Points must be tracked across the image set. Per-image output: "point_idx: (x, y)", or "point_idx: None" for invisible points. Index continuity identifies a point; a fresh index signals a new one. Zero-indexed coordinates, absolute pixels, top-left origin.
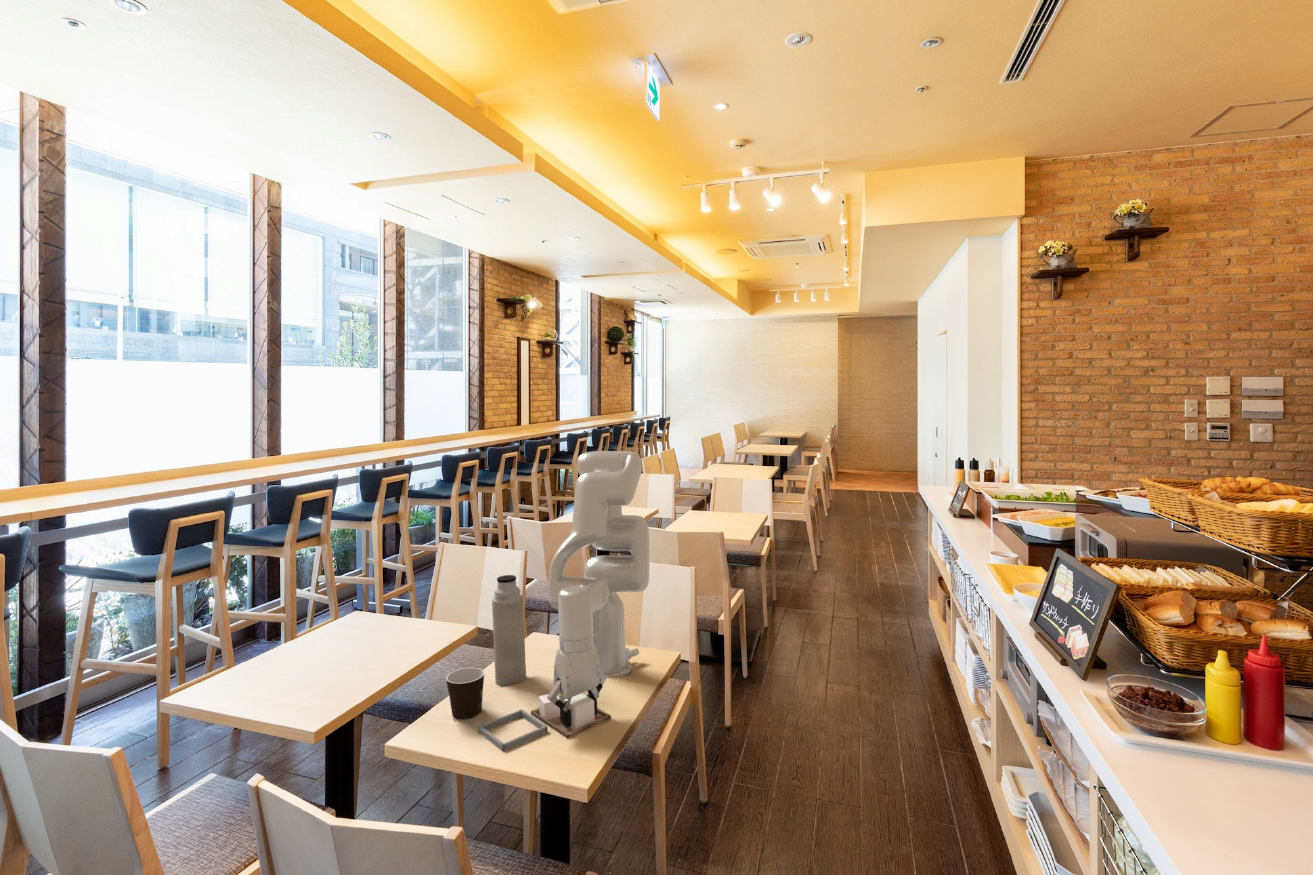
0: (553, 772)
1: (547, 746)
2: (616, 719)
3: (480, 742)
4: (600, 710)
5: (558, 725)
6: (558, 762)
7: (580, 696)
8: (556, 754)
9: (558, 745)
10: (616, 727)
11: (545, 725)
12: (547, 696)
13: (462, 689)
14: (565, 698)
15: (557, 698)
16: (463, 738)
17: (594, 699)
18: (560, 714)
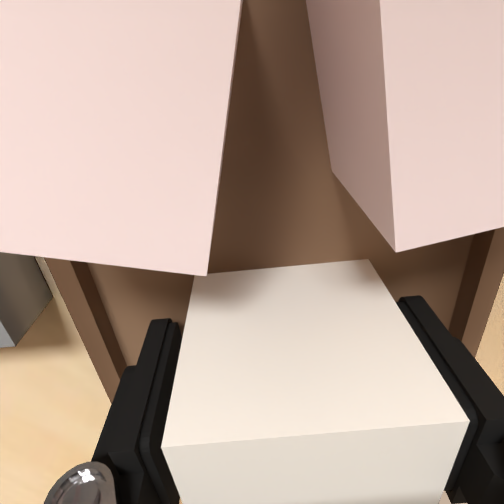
0: (16, 500)
1: (27, 375)
2: (479, 364)
3: None
4: (472, 340)
5: (136, 296)
6: (51, 473)
7: (391, 469)
8: (57, 437)
9: (88, 394)
10: None
11: (1, 331)
12: (16, 7)
13: None
14: (355, 118)
15: (172, 228)
16: None
17: (457, 497)
18: (109, 420)
